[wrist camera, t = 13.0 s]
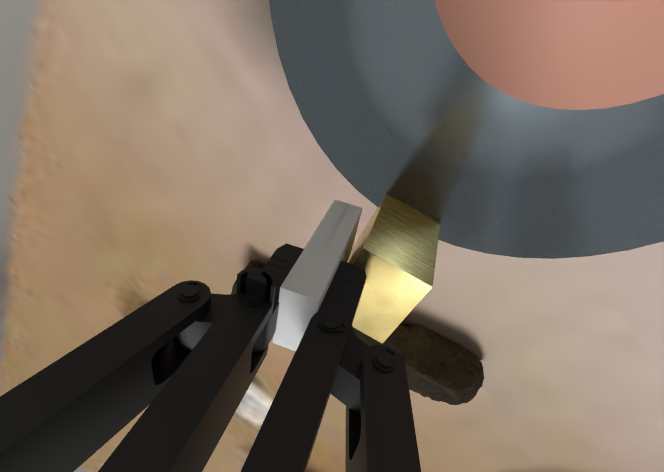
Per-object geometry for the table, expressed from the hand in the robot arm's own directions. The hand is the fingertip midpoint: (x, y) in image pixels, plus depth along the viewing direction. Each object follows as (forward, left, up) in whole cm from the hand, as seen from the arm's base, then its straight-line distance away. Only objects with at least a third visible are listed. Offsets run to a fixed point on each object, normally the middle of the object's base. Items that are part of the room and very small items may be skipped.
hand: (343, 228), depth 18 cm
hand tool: (+11, +2, -7) cm, 13 cm away
